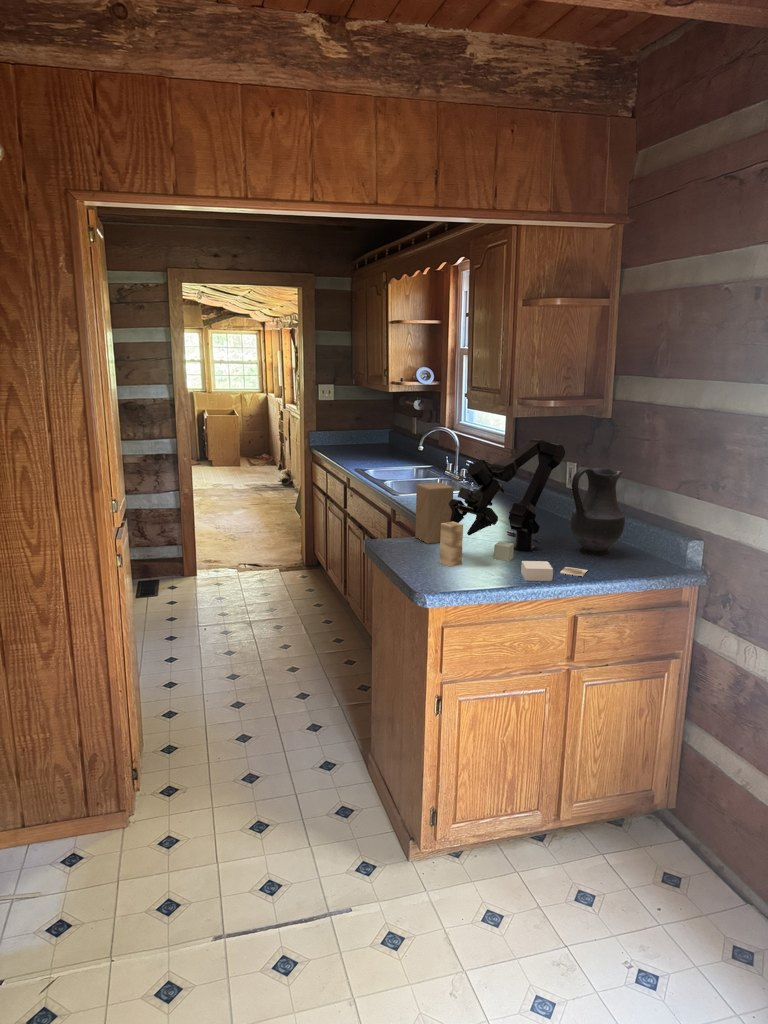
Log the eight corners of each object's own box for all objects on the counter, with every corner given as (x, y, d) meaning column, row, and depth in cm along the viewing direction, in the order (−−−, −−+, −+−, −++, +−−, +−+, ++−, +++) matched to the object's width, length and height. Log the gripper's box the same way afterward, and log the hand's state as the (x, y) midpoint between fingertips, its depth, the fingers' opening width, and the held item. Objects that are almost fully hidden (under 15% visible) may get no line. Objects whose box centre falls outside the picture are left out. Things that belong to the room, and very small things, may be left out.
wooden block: (414, 537, 261) (416, 483, 257) (439, 535, 265) (440, 482, 261) (427, 544, 253) (428, 488, 248) (452, 541, 256) (454, 486, 252)
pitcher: (632, 556, 241) (640, 468, 235) (587, 564, 231) (594, 472, 225) (594, 544, 256) (600, 461, 249) (550, 551, 246) (555, 464, 239)
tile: (565, 567, 226) (565, 566, 226) (587, 571, 223) (587, 569, 223) (559, 573, 220) (559, 571, 220) (582, 577, 217) (582, 575, 217)
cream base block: (520, 573, 221) (521, 560, 220) (546, 573, 221) (547, 561, 220) (525, 581, 213) (526, 568, 212) (552, 581, 213) (553, 569, 212)
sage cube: (498, 556, 239) (499, 541, 238) (513, 558, 237) (513, 543, 236) (493, 559, 235) (494, 544, 234) (508, 561, 233) (509, 546, 232)
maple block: (451, 560, 233) (452, 521, 230) (461, 564, 229) (463, 524, 226) (439, 562, 230) (440, 523, 227) (449, 566, 226) (451, 526, 223)
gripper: (453, 474, 236) (426, 510, 232) (493, 483, 221) (465, 522, 217) (470, 495, 242) (444, 531, 238) (510, 505, 227) (483, 543, 223)
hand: (458, 531), depth 229 cm, fingers open, 9 cm apart
